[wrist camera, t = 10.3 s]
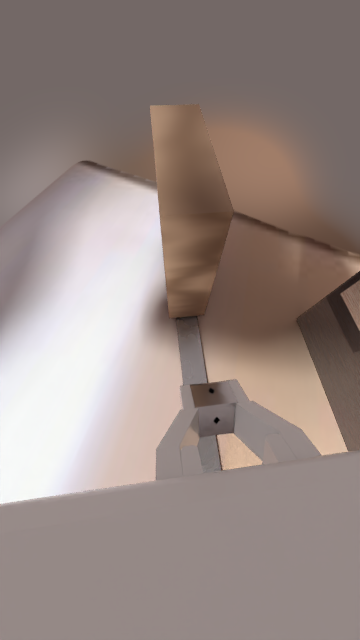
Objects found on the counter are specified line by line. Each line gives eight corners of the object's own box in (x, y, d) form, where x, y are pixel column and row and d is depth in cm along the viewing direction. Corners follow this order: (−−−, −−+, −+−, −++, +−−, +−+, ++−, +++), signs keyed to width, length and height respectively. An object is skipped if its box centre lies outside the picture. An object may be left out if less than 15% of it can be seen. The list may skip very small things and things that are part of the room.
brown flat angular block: (169, 318, 22) (160, 215, 10) (161, 234, 27) (150, 105, 16) (204, 314, 22) (234, 211, 11) (189, 233, 28) (198, 104, 16)
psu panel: (195, 498, 16) (266, 839, 3) (168, 250, 27) (161, 111, 14) (390, 470, 17) (1018, 650, 4) (287, 242, 28) (377, 104, 15)
